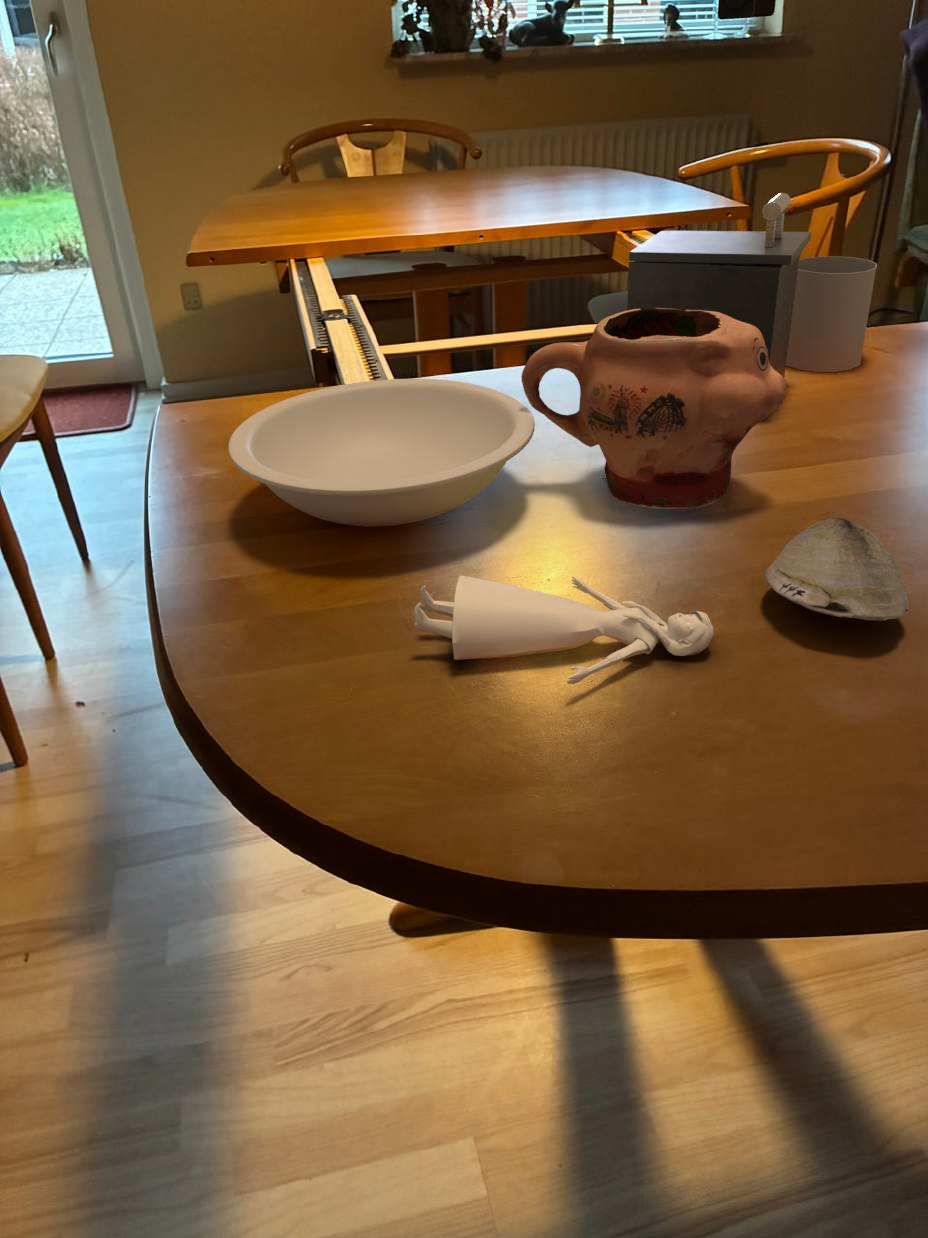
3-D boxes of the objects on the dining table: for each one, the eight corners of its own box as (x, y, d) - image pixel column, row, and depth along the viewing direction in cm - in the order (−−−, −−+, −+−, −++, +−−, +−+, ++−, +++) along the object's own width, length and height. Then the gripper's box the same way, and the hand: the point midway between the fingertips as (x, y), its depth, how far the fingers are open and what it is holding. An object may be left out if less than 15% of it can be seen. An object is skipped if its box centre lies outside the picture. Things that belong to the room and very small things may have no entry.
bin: (783, 385, 97) (801, 243, 90) (762, 420, 89) (780, 267, 82) (653, 374, 103) (660, 239, 95) (623, 406, 95) (628, 261, 87)
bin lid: (810, 240, 89) (816, 187, 87) (790, 264, 81) (796, 207, 79) (660, 238, 95) (662, 189, 93) (628, 261, 87) (629, 207, 85)
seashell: (750, 557, 67) (758, 492, 64) (874, 560, 66) (887, 494, 63) (771, 651, 57) (782, 579, 54) (917, 656, 56) (935, 583, 53)
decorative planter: (515, 521, 74) (510, 342, 67) (529, 460, 84) (526, 299, 77) (781, 525, 71) (806, 339, 63) (763, 462, 81) (783, 294, 74)
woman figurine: (430, 536, 62) (709, 555, 61) (431, 594, 65) (699, 614, 63) (399, 632, 52) (730, 657, 51) (401, 696, 55) (717, 723, 53)
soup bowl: (236, 592, 67) (218, 507, 63) (248, 463, 87) (235, 393, 83) (568, 551, 69) (568, 467, 66) (504, 435, 89) (502, 366, 86)
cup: (769, 365, 103) (780, 269, 98) (794, 345, 109) (806, 254, 103) (848, 375, 99) (865, 276, 93) (870, 354, 104) (887, 259, 99)
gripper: (795, -246, 73) (769, 16, 82) (828, -210, 86) (802, 13, 95) (698, -230, 76) (683, 21, 85) (744, -197, 89) (727, 18, 98)
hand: (746, 17), depth 90 cm, fingers open, 9 cm apart
